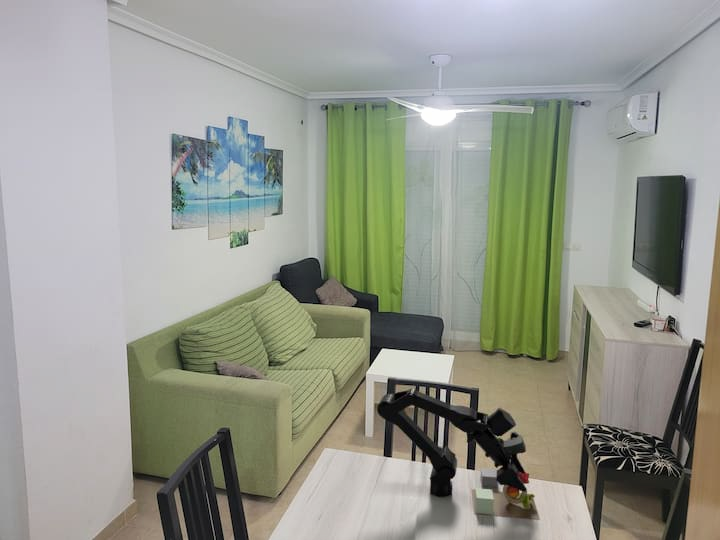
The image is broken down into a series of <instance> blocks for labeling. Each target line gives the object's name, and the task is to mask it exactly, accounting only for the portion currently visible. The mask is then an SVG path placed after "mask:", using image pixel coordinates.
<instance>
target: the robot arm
mask: <svg viewBox="0 0 720 540" xmlns="http://www.w3.org/2000/svg"><path fill="white" fill-rule="evenodd" d="M411 406H413V407H415V408H418V409H420V410H423V411H426V412H428V413H430V414H432V415H434V416H437V417H440V418H442V419H444V420H446V421H448V422H450V424H451V425H453V426H454V427H455V428H457V429H459V430H460V431H462V432H464V433H466V443H467V444H470V443H471V442H472V441H475V443H476V444H477V445H478V446H479V447H480V449H482V451H483V452H484V456H485V457H486V458H487V459H488V458H490V460H492V462H493V464H494V465H493V466H494V467H495V469H496V470H497V476H496V481H497V482H498V484H499V486H504V485H508V486H511V487H514V488H516V489H518V490H521V491H520V492H522V491H523V492H525V491H527V492H528V488H527V487H526V484H523V482H522V481H521V480H520V478H519V477H518V472H521V473H527V472H526V471H525V468H524V467H523V465H522V463H521V462H520V460H519V457H518V454H523V453H526V452H527V447H526V444H525V441H524V437H523V436H521V434H518V433H517V431H512V432H510V436H509V437H508V438H507V439H506V440H504V439H503V438H502V437H503V436H504V435H505V434H507V433H508V432H509V431H511V430H512V429H513V428H515V427H516V425H517V423H516V421H515V419H514V418H513V417H512V415H511V414H510V413H509V412H507V411H506V410H504V409H503V408H501V407H498V408H497V409H496V410H495V411H494V412H493V413H491V414H490V415H489V414H488V413H486V412H485V413H484V412H481V411H478V410H475V409H474V408H473V407H468V406H465V405H453V404H451V403H448V402H445V401H444V400H441V399H438V398H435V397H433V396H430V395H428V394H425V393H423V392H421V391H419V390H417V389H415V388H410V389H408V390H401V391H397V392H395V393H387V394H384V395H383V396H382V398H381V399H380V401H379V403H378V404H377V409H376V410H377V414H378V416H380V418H382V419H383V420H385V421H386V422H388V423H389V424H393V425H395V426H397V428H398V429H400V430H401V432H403V434H404V435H405V436H407V438H408V439H409V440H410V441H412V443H413V444H414V445H415V446H416V447H417V448H418V449H419V450H420V451H421V452H422V453H423V454H424V455H425V456H426V458H428V460H429V462H430V464H431V466H432V468H431V473H430V476H429V480H430V481H429V482H430V483H429V484H430V485H429V494H430V495H433V496H435V497H437V498H445V497H450V496H453V481H451V480H452V479H454V478H455V477H456V474H457V467H458V459H457V456H456V453H454V452H453V451H451V449H450V448H449V446H445V447H444V448H443V447H440V446H438V445H437V443H435V442H434V441H433V440H432V438H431V437H429V435H427V433H426V432H425V431H424V430H422V428H421V427H419V425H418V424H417V423H416V422H415V421H414V420H413V419H412V418H411V417H410V416H409V415H408V414H407V412H406V408H409V407H411ZM498 467H500V468H498Z"/></svg>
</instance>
